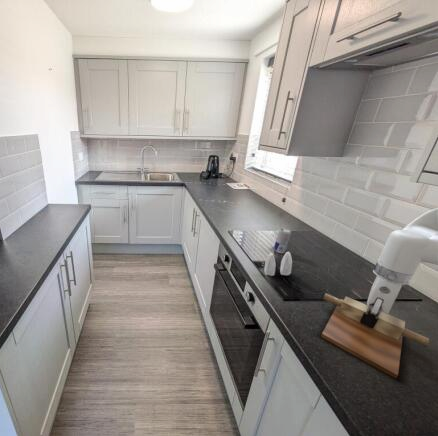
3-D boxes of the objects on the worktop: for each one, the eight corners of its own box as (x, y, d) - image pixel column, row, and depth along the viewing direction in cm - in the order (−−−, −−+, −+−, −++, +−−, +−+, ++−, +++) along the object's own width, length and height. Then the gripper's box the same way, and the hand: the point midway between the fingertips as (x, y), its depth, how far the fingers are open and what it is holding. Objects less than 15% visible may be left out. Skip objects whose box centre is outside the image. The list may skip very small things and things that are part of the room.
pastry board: (339, 302, 84) (340, 298, 83) (401, 330, 73) (404, 326, 72) (320, 338, 69) (322, 333, 68) (395, 380, 58) (398, 375, 57)
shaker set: (288, 272, 101) (295, 249, 96) (293, 277, 97) (300, 255, 93) (260, 270, 101) (266, 248, 97) (264, 276, 97) (271, 253, 93)
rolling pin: (320, 303, 80) (324, 293, 78) (324, 298, 82) (328, 288, 81) (423, 352, 63) (431, 341, 61) (423, 343, 66) (431, 332, 64)
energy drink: (275, 247, 121) (281, 227, 116) (286, 251, 117) (292, 230, 113) (271, 251, 118) (277, 229, 113) (282, 255, 114) (289, 233, 109)
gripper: (409, 291, 58) (380, 343, 65) (412, 267, 68) (387, 315, 75) (370, 277, 63) (346, 327, 70) (378, 257, 74) (357, 302, 80)
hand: (368, 320), depth 73 cm, fingers closed on rolling pin, 4 cm apart
